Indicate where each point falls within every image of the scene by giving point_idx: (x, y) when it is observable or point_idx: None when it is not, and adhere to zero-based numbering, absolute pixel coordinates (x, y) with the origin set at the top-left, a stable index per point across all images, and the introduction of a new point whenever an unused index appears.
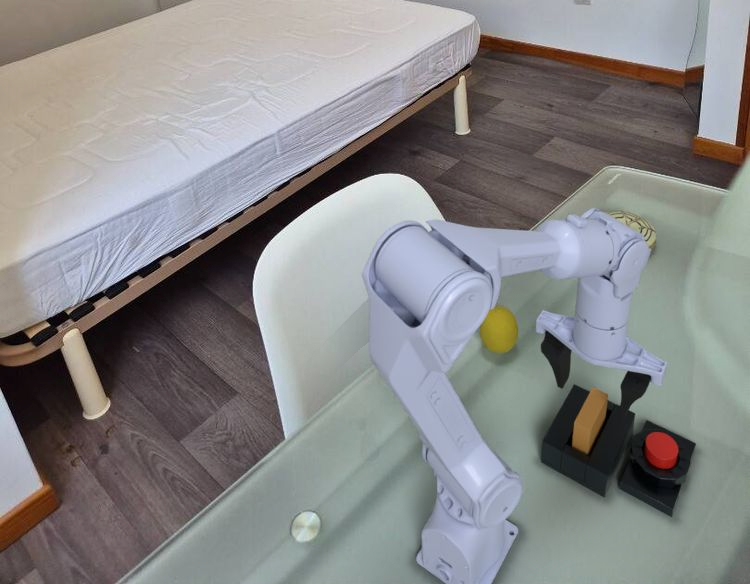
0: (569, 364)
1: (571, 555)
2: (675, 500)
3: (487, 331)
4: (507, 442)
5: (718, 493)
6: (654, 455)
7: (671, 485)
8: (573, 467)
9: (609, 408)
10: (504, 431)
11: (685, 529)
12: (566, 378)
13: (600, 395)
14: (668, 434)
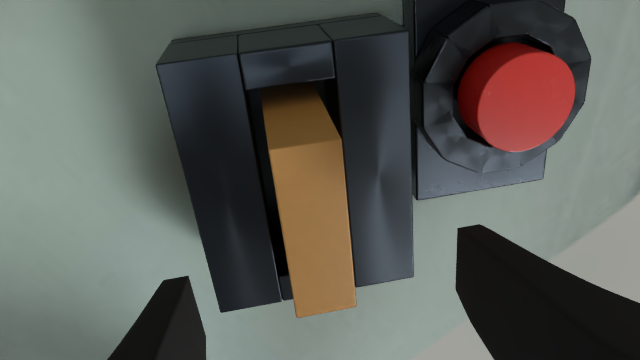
0: (171, 333)
1: (380, 349)
2: (545, 155)
3: None
4: (121, 267)
5: (619, 30)
6: (512, 150)
7: None
8: None
9: (324, 77)
10: (90, 250)
11: (557, 169)
12: (193, 318)
13: (317, 165)
14: (515, 7)
